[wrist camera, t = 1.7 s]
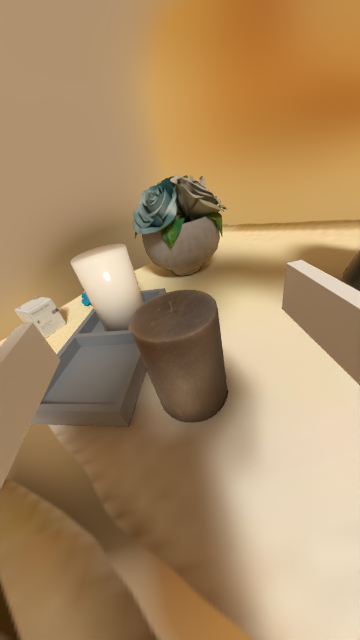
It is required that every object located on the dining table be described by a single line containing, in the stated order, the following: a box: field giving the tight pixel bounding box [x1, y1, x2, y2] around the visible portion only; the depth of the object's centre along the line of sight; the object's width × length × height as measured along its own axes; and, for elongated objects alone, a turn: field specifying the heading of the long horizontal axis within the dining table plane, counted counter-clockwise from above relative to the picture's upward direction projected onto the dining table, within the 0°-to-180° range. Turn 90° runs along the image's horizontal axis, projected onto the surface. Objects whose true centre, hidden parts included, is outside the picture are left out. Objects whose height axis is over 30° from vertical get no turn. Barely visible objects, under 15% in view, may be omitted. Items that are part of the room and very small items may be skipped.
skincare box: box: [14, 297, 66, 338], centre depth 51 cm, size 6×6×7 cm
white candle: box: [71, 244, 145, 332], centre depth 43 cm, size 10×10×15 cm
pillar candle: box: [128, 290, 228, 422], centre depth 26 cm, size 10×10×15 cm
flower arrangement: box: [133, 175, 227, 276], centre depth 59 cm, size 25×25×24 cm
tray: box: [31, 288, 166, 427], centre depth 41 cm, size 16×31×4 cm, turn 173°
